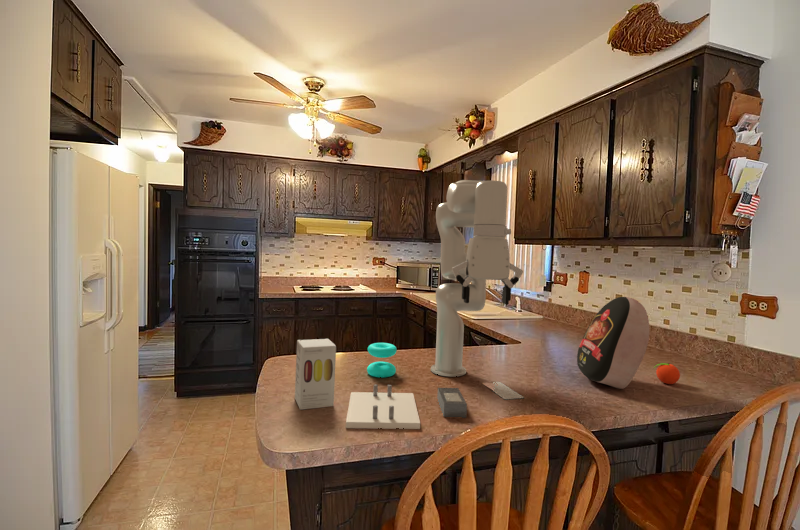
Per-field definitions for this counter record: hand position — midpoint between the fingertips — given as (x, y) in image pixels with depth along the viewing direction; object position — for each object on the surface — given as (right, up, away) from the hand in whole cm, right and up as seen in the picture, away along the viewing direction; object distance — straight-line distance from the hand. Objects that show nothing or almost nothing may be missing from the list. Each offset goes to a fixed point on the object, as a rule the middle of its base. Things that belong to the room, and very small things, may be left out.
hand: (485, 303), depth 100 cm
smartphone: (+11, -31, +29) cm, 44 cm away
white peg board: (-26, -30, +9) cm, 40 cm away
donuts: (-27, -28, +41) cm, 57 cm away
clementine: (+72, -32, +43) cm, 89 cm away
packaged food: (+51, -31, +41) cm, 72 cm away
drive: (-7, -31, +13) cm, 34 cm away
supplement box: (-45, -29, +14) cm, 55 cm away
